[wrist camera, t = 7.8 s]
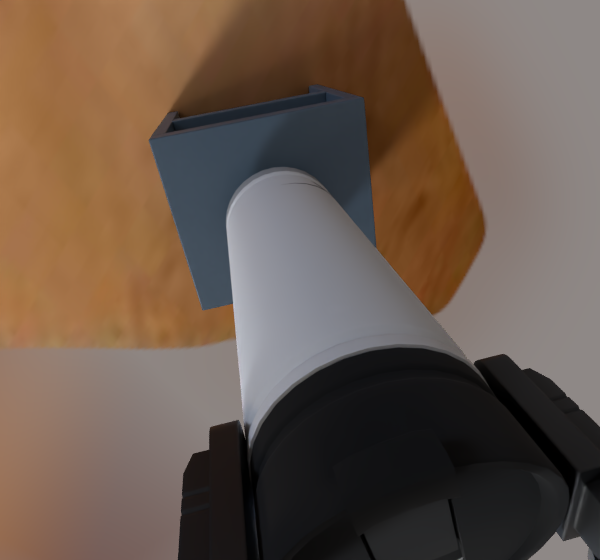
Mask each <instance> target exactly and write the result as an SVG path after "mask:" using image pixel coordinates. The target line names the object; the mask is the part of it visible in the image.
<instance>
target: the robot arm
mask: <svg viewBox="0 0 600 560" xmlns="http://www.w3.org/2000/svg"><path fill="white" fill-rule="evenodd" d="M474 366H475V367H476V368H477V369H478V370H479V372H480V373H481V375H482V376H483V378H484V379H485V381H486V382H487V384H488V385H489V387H490V389H491V390H492V391H493V393H494V395H495V396H496V398H497V399H498V401H499V402H501V403H502V404H503V405H504V406H505V407H506V408H507V409H508V410H509V412H510V413H511V414H512V415H513V416H514V418H515V419H516V420H517V421H518V422H519V424H520V425H521V426H522V427H523V428H524V430H525V431H526V432H527V433H528V434H529V436H530V437H531V438H532V439H533V441H534V442H535V443H536V444H537V445H538V447H539V448H540V449H541V450H542V451H543V453H544V454H545V455H546V456H547V457H548V459H549V460H550V461H551V462H552V463H553V465H554V466H555V467H556V468H557V469H558V471H559V472H560V473H561V474H562V476H563V478H564V480H565V481H566V483H567V485H568V487H569V506H568V509H567V512H566V515H565V518H564V520H563V521H562V523H561V524H560V526H559V527H558V529H557V530H556V532H557V533H558V535H559V536H560V537H561V539H562V540H563V541H566V540H569V539H572V538H576V537H579V536H581V538H582V539H583V540H584V541H585V543H586V544H587V546H588V547H589V550H588V560H600V427H599V426H598V425H597V424H596V423H595V422H594V421H593V420H592V419H591V418H590V417H589V416H588V415H587V414H586V413H585V412H584V411H583V410H580V409H579V407H578V405H577V404H576V403H575V402H574V401H572V400H571V399H570V398H569V397H567V396H566V394H565V393H564V392H563V391H562V390H561V389H560V388H559V387H558V386H557V385H556V384H555V383H554V382H553V381H552V380H551V379H549V378H547V377H545V376H544V375H542V374H540V373H538V372H536V371H534V370H532V369H530V368H529V369H524V370H521V369H520V368H519V367H518V366H517V365H516V364H515V363H514V362H513V361H512V360H511V359H510V358H509V357H508V356H507V355H505V354H501V355H497V356H492V357H488V358H485V359H481V360H477V361H475V363H474ZM209 432H210V433H209V434H210V435H209V450H207V451H202V452H198V453H195V454H193V455H192V457H191V459H190V461H189V463H188V465H187V468H186V470H185V472H184V474H183V489H182V496H183V498H182V505H181V513H182V516H181V520H180V536H179V553H178V560H259V550H258V540H257V529H256V519H255V509H254V496H253V487H252V483H251V480H250V477H249V470H248V461H247V450H246V449H247V447H246V440H245V436H244V433H243V430H242V427H241V424H240V422H239V420H236V421H232V422H229V423H225V424H221V425H217V426H213V427H210V431H209Z"/></svg>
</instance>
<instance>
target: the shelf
mask: <svg viewBox="0 0 600 560" xmlns="http://www.w3.org/2000/svg"><path fill="white" fill-rule="evenodd" d="M149 143H150V146H151V149H152V152H153V156H154V159H155V162H156V165H157V168H158V171H159V174H160V178H161V181H162V184H163V187H164V190H165V193H166V197H167V200H168V203H169V206H170V209H171V212H172V215H173V219H174V222H175V225H176V228H177V231H178V234H179V238H180V241H181V244H182V247H183V250H184V253H185V256H186V260H187V263H188V266H189V269H190V272H191V275H192V279H193V282H194V285H195V288H196V291H197V294H198V297H199V301H200V304H201V307H202V310H207V309H212V308H216V307H220V306H225V305H229V304H233V295H232V284H231V273H230V262H229V251H228V240H227V229H226V214H227V209H228V206H229V203H230V200H231V198H232V196H233V195H234V193H235V191H236V190H237V189H238V188H239V186H240V185H241V184H242V183H243V182H244V181H245V180H247V179H248V178H249V177H251V176H252V175H254V174H256V173H258V172H260V171H262V170H266V169H269V168H273V167H290V168H296V169H299V170H302V171H305V172H307V173H308V174H310V175H312V176H313V177H315V178H316V179H317V180H318V181H319V182H320V183H321V184H322V185H323V186H324V187H325V188H326V189H327V191H328V192H329V193H330V194H331V195H332V197H333V198H334V199H335V200H336V201H337V202H338V204H339V205H340V206H341V207H342V208H343V210H344V211H345V212H346V213H347V214H348V216H349V217H350V218H351V219H352V220H353V222H354V223H355V224H356V225H357V226H358V227H359V229H360V230H361V231H362V232H363V233H364V235H365V236H366V237H367V238H368V239H369V241H370V242H371V243H372V244H373V245H374V247H375V248H376V238H375V226H374V214H373V202H372V190H371V178H370V165H369V153H368V141H367V129H366V117H365V105H364V98H363V97H360V96H356V95H353V94H349V93H346V92H342V91H339V90H335V89H332V88H328V87H325V86H321V85H318V84H317V85H311V86H309V93H308V94H303V95H298V96H293V97H288V98H282V99H277V100H272V101H267V102H262V103H256V104H251V105H246V106H241V107H236V108H231V109H225V110H220V111H215V112H210V113H205V114H199V115H194V116H189V117H184V118H180V117H179V113H178V111H176V112H170V113H168V114H167V115H166V116H165V118H164V119H163V121H162V122H161V123H160V125H159V126H158V127H157V129H156V130H155V132H154V133H153V134H152V136H151V138H150V139H149Z"/></svg>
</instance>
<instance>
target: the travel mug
mask: <svg viewBox="0 0 600 560" xmlns="http://www.w3.org/2000/svg"><path fill="white" fill-rule="evenodd" d="M226 229H227V240H228V251H229V262H230V273H231V284H232V295H233V307H234V318H235V329H236V340H237V351H238V361H239V372H240V384H241V395H242V406H243V417H244V427H245V438H246V447H247V449H246V450H247V461H248V470H249V477H250V480H251V483H252V487H253V496H254V509H255V519H256V529H257V540H258V550H259V560H528V559H529V558H530V557H531V556H532V555H534V554H535V553H536V552H537V551H538V550H539V549H541V547H543V545H544V544H545V543H546V542H547V541H548V540H549V539H550V538H551V537H552V536H553V534H554V533H555V532H556V530H557V529H558V527H559V526H560V524H561V523H562V521H563V520H564V518H565V515H566V512H567V509H568V506H569V487H568V485H567V483H566V481H565V480H564V478H563V476H562V474H561V473H560V472H559V471H558V469H557V468H556V467H555V466H554V465H553V463H552V462H551V461H550V460H549V459H548V457H547V456H546V455H545V454H544V453H543V451H542V450H541V449H540V448H539V447H538V445H537V444H536V443H535V442H534V441H533V439H532V438H531V437H530V436H529V434H528V433H527V432H526V431H525V430H524V428H523V427H522V426H521V425H520V424H519V422H518V421H517V420H516V419H515V418H514V416H513V415H512V414H511V413H510V412H509V410H508V409H507V408H506V407H505V406H504V405H503V404H502V403H501V402H499V401H498V399H497V398H496V396H495V395H494V393H493V391H492V390H491V389H490V387H489V385H488V384H487V382H486V381H485V379H484V378H483V376H482V375H481V373H480V372H479V370H478V369H477V368H476V367H475V366H474V364H473V363H472V362H471V361H469V360H468V359H467V358H466V357H465V355H464V353H463V352H462V350H461V349H460V348H459V347H458V345H457V344H456V343H455V342H454V341H453V339H452V338H451V337H450V336H449V335H448V334H447V332H446V331H445V330H444V329H443V328H442V326H441V325H440V324H439V323H438V322H437V320H436V319H435V318H434V317H433V316H432V314H431V313H430V312H429V311H428V310H427V308H426V307H425V306H424V305H423V304H422V303H421V301H420V300H419V299H418V298H417V297H416V295H415V294H414V293H413V292H412V291H411V289H410V288H409V287H408V286H407V285H406V283H405V282H404V281H403V280H402V279H401V278H400V276H399V275H398V274H397V273H396V272H395V270H394V269H393V268H392V267H391V266H390V264H389V263H388V262H387V261H386V260H385V258H384V257H383V256H382V255H381V254H380V252H379V251H378V250H377V249H376V248H375V247H374V245H373V244H372V243H371V242H370V241H369V239H368V238H367V237H366V236H365V235H364V233H363V232H362V231H361V230H360V229H359V227H358V226H357V225H356V224H355V223H354V222H353V220H352V219H351V218H350V217H349V216H348V214H347V213H346V212H345V211H344V210H343V208H342V207H341V206H340V205H339V204H338V202H337V201H336V200H335V199H334V198H333V197H332V195H331V194H330V193H329V192H328V191H327V189H326V188H325V187H324V186H323V185H322V184H321V183H320V182H319V181H318V180H317V179H316V178H315V177H313V176H312V175H310V174H308V173H307V172H305V171H302V170H299V169H296V168H290V167H273V168H269V169H266V170H262V171H260V172H258V173H256V174H254V175H252V176H251V177H249V178H248V179H247V180H245V181H244V182H243V183H242V184H241V185H240V186H239V188H238V189H237V190H236V191H235V193H234V195H233V196H232V198H231V200H230V203H229V206H228V209H227V214H226Z"/></svg>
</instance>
